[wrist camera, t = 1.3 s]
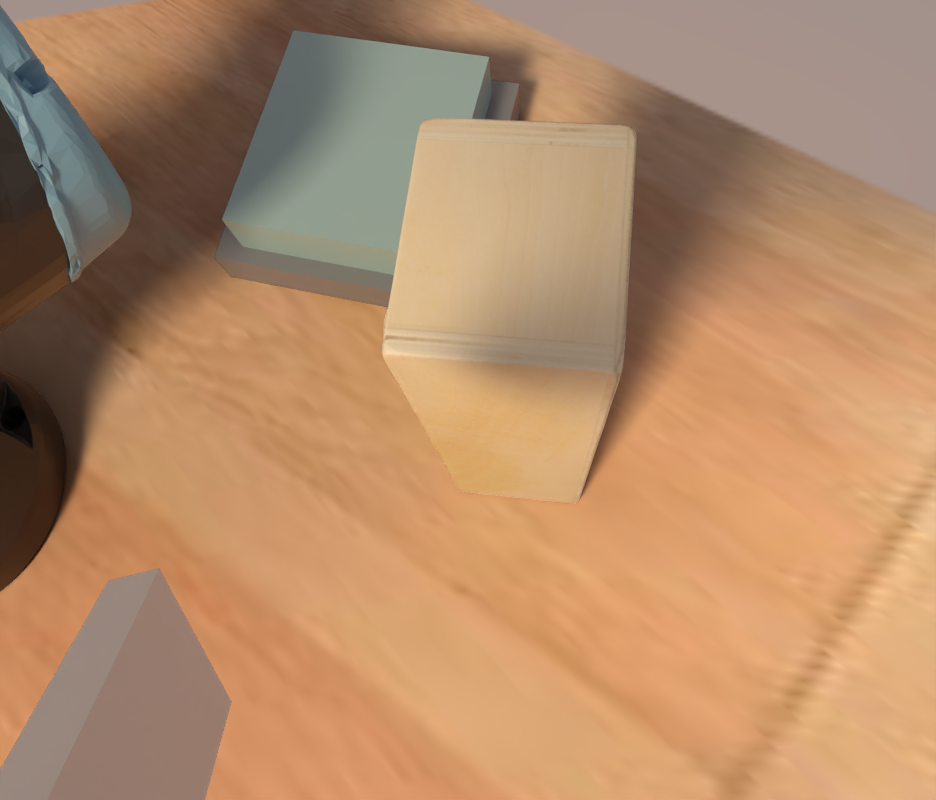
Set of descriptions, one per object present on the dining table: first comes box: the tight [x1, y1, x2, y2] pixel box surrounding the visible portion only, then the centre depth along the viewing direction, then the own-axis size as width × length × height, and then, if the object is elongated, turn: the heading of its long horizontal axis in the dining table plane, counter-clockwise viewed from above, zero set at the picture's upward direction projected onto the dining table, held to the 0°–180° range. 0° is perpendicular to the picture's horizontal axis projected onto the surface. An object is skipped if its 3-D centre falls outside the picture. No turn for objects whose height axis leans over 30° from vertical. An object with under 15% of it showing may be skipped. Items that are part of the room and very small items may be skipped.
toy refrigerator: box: [382, 118, 637, 504], centre depth 30 cm, size 8×7×21 cm
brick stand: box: [214, 30, 520, 307], centre depth 43 cm, size 15×15×6 cm
